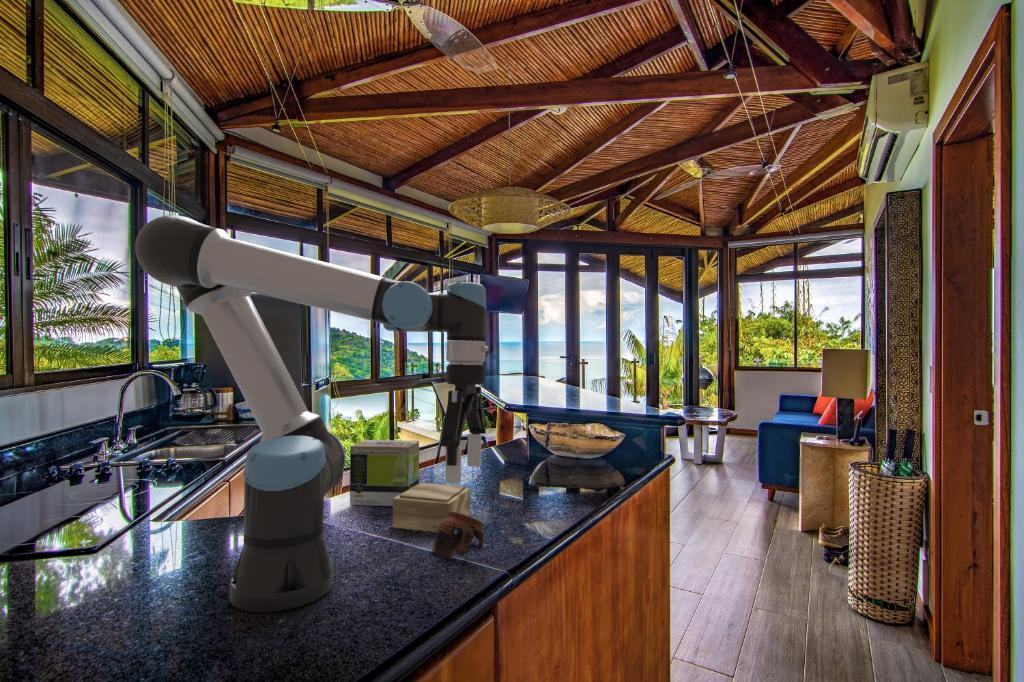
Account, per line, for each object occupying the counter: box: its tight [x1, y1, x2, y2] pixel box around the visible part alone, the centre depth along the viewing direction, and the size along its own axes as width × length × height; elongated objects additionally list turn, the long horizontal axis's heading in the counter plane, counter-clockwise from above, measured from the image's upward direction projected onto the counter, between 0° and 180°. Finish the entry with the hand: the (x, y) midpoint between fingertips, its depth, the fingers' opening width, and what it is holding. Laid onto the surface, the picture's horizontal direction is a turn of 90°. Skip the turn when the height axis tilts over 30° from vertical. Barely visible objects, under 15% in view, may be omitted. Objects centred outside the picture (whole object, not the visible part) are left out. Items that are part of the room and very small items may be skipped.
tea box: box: [349, 439, 420, 507], centre depth 131 cm, size 15×10×15 cm
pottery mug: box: [431, 512, 485, 560], centre depth 99 cm, size 12×10×8 cm
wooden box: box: [392, 482, 471, 533], centre depth 117 cm, size 13×13×7 cm
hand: (464, 474), depth 100 cm, fingers open, 13 cm apart
